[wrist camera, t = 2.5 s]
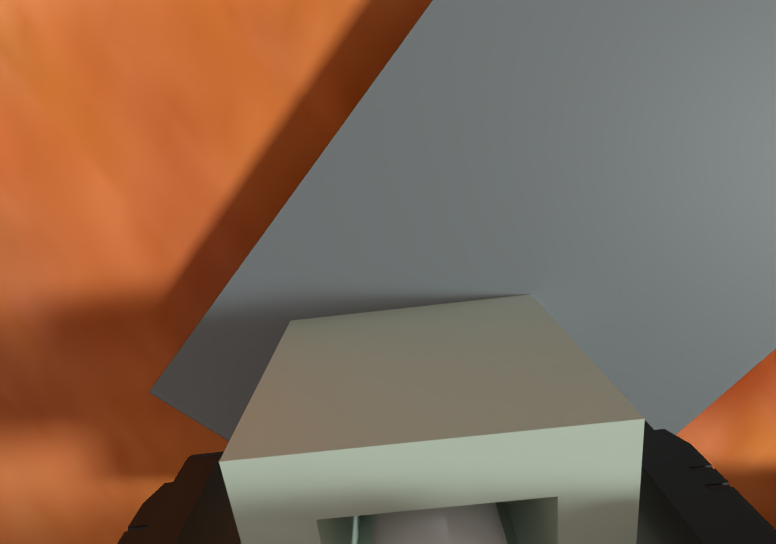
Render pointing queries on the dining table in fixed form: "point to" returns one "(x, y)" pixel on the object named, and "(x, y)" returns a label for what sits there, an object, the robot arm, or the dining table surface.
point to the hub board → (533, 207)
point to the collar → (435, 428)
